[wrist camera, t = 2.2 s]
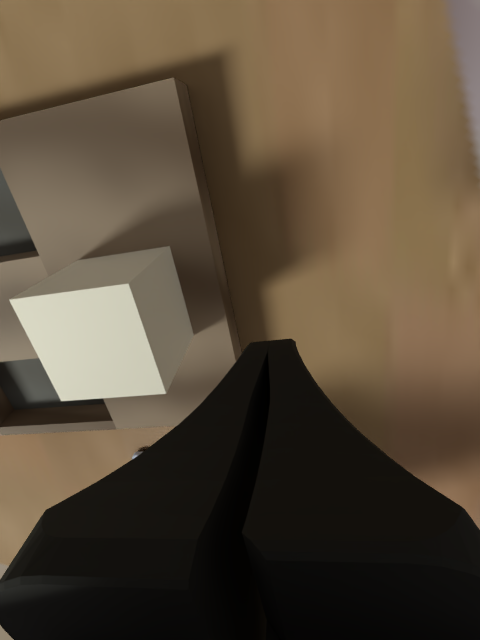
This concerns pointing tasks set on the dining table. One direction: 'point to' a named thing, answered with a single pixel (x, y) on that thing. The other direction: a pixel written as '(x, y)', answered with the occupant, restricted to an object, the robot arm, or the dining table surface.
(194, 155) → the trap deck
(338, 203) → the dining table surface
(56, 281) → the block
